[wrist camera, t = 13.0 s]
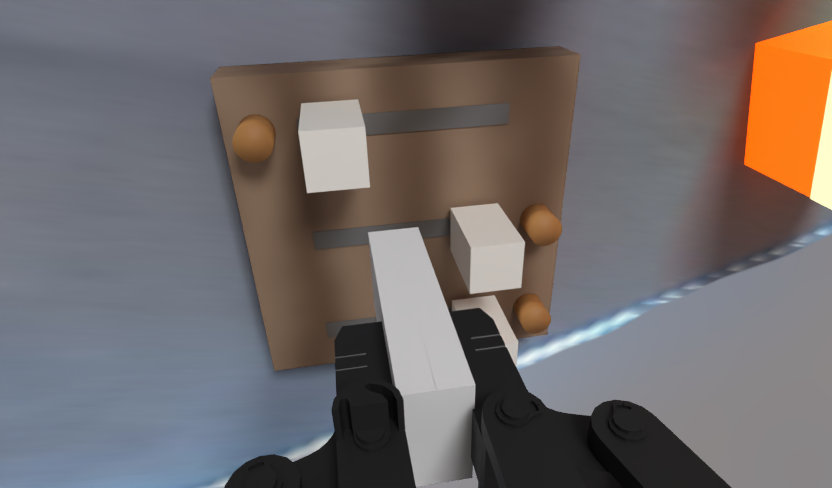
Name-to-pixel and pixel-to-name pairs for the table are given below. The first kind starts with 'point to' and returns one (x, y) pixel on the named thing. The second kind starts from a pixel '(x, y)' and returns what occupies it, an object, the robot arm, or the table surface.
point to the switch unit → (396, 179)
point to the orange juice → (793, 111)
